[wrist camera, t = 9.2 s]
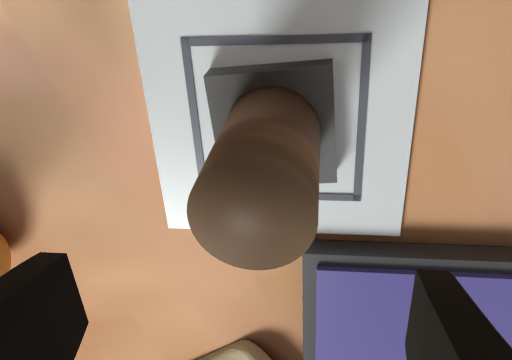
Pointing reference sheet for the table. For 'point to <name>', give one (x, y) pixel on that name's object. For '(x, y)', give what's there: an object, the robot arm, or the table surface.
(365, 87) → the card sheet
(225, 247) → the stamp
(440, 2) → the table surface
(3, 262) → the figurine
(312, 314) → the ink pad
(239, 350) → the wooden puzzle
